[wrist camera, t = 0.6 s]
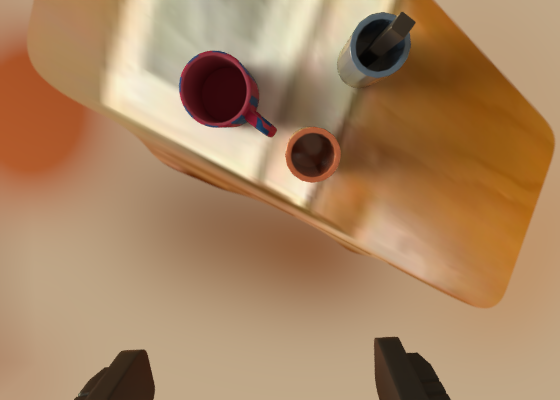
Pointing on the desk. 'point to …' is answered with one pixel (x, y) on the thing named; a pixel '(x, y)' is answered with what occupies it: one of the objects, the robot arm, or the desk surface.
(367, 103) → the desk surface
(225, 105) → the mug
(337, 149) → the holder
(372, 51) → the chopstick
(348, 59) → the holder
